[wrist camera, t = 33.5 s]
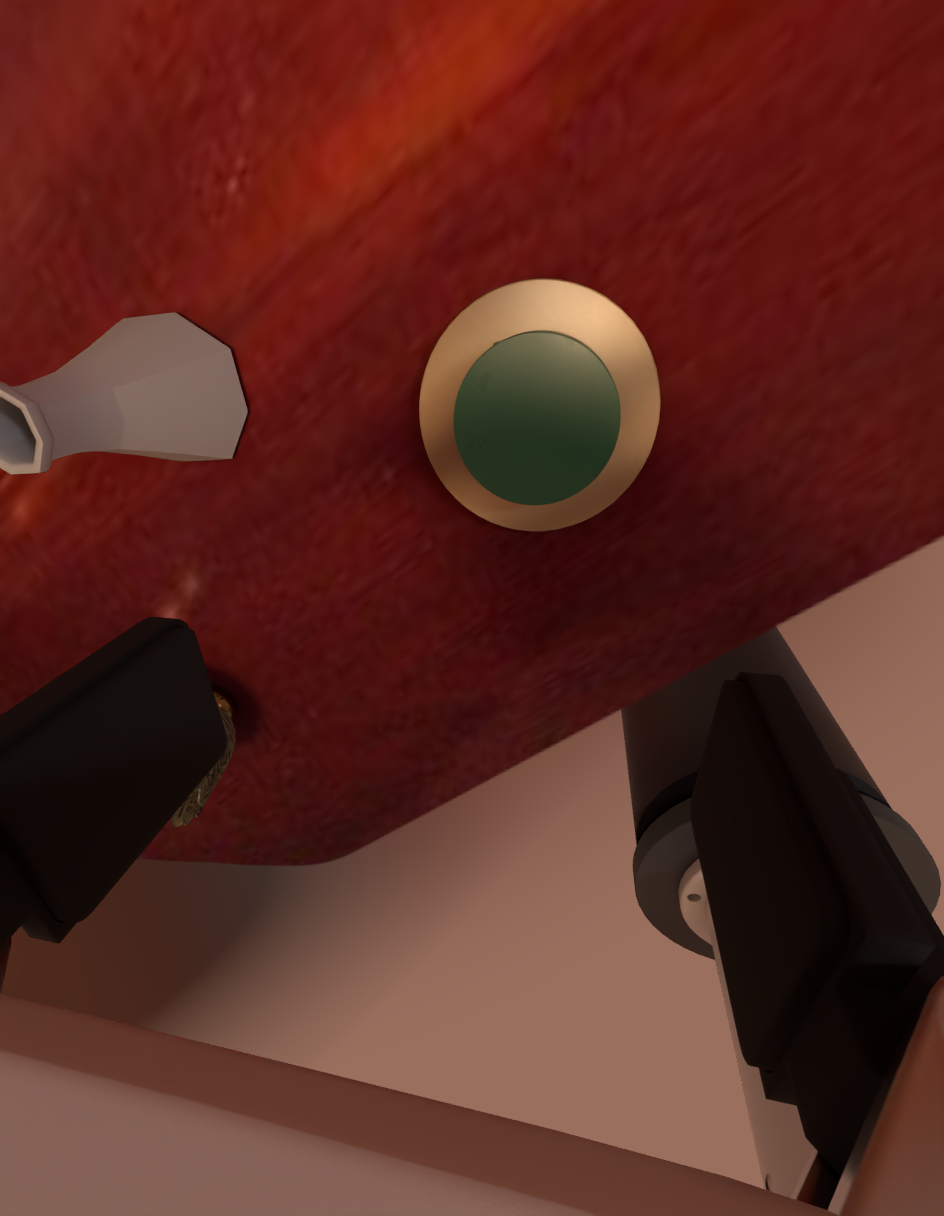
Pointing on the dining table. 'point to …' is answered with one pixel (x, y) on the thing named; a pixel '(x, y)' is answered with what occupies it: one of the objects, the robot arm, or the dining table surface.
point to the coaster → (530, 311)
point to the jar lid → (537, 417)
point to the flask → (129, 399)
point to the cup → (209, 782)
